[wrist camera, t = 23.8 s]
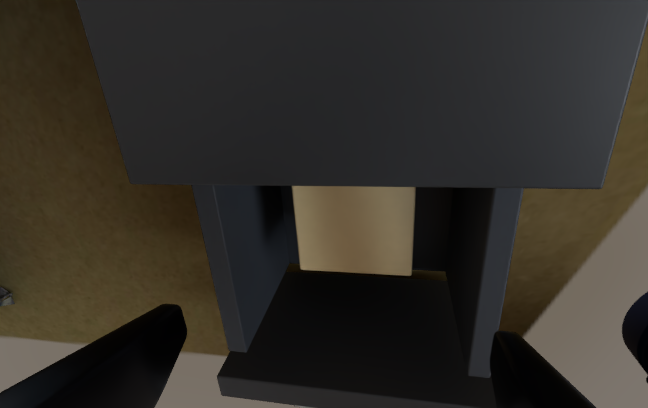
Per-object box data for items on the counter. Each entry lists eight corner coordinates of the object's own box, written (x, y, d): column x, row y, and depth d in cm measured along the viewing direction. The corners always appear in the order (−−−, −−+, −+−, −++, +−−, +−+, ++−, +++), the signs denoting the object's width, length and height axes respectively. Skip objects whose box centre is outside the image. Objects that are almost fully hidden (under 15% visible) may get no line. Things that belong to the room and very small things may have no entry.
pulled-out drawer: (459, 355, 22) (488, 500, 15) (282, 338, 24) (236, 457, 17) (499, 37, 15) (590, 35, 8) (242, 54, 17) (136, 63, 10)
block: (412, 134, 16) (417, 166, 12) (408, 223, 18) (411, 276, 14) (314, 136, 17) (288, 166, 13) (320, 221, 19) (299, 270, 15)
